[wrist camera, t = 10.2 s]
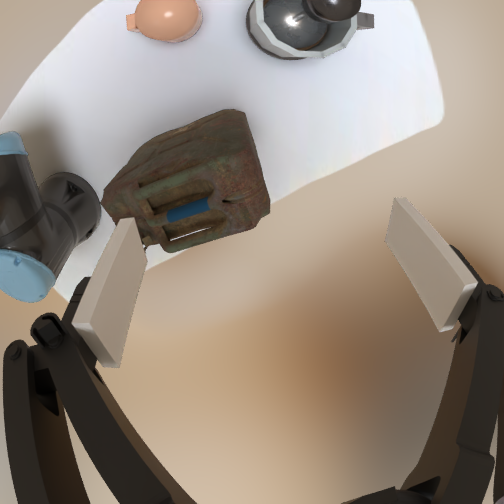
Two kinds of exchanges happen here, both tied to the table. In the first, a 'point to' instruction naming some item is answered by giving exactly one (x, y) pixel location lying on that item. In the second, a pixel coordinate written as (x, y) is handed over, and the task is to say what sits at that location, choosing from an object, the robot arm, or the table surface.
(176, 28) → the peach mug
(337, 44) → the faceted grey tankard
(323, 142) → the table surface
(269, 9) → the plunger
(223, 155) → the canister
